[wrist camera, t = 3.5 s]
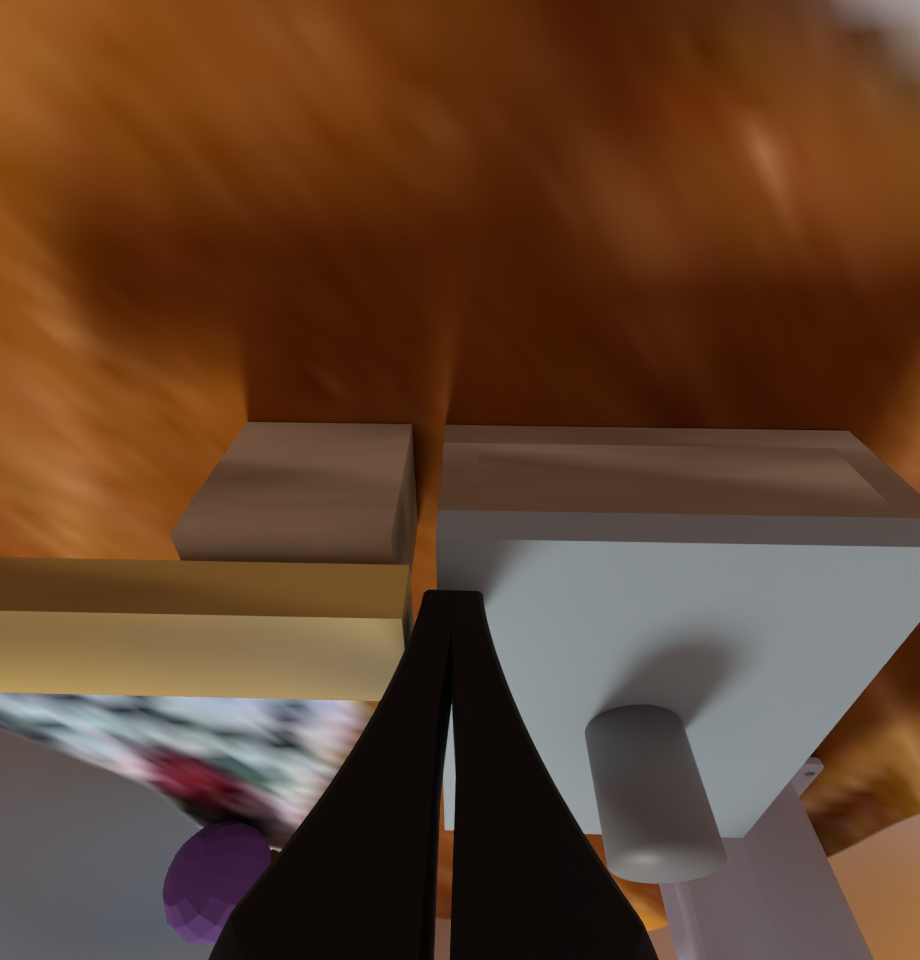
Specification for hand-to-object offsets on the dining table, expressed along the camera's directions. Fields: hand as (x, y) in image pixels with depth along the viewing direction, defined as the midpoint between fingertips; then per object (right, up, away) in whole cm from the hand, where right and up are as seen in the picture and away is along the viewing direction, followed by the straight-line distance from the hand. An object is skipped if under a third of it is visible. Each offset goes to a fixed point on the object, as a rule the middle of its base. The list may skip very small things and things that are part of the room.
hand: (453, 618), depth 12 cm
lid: (+6, -3, +6) cm, 9 cm away
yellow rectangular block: (-6, 0, 0) cm, 6 cm away
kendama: (-10, -24, +25) cm, 36 cm away
